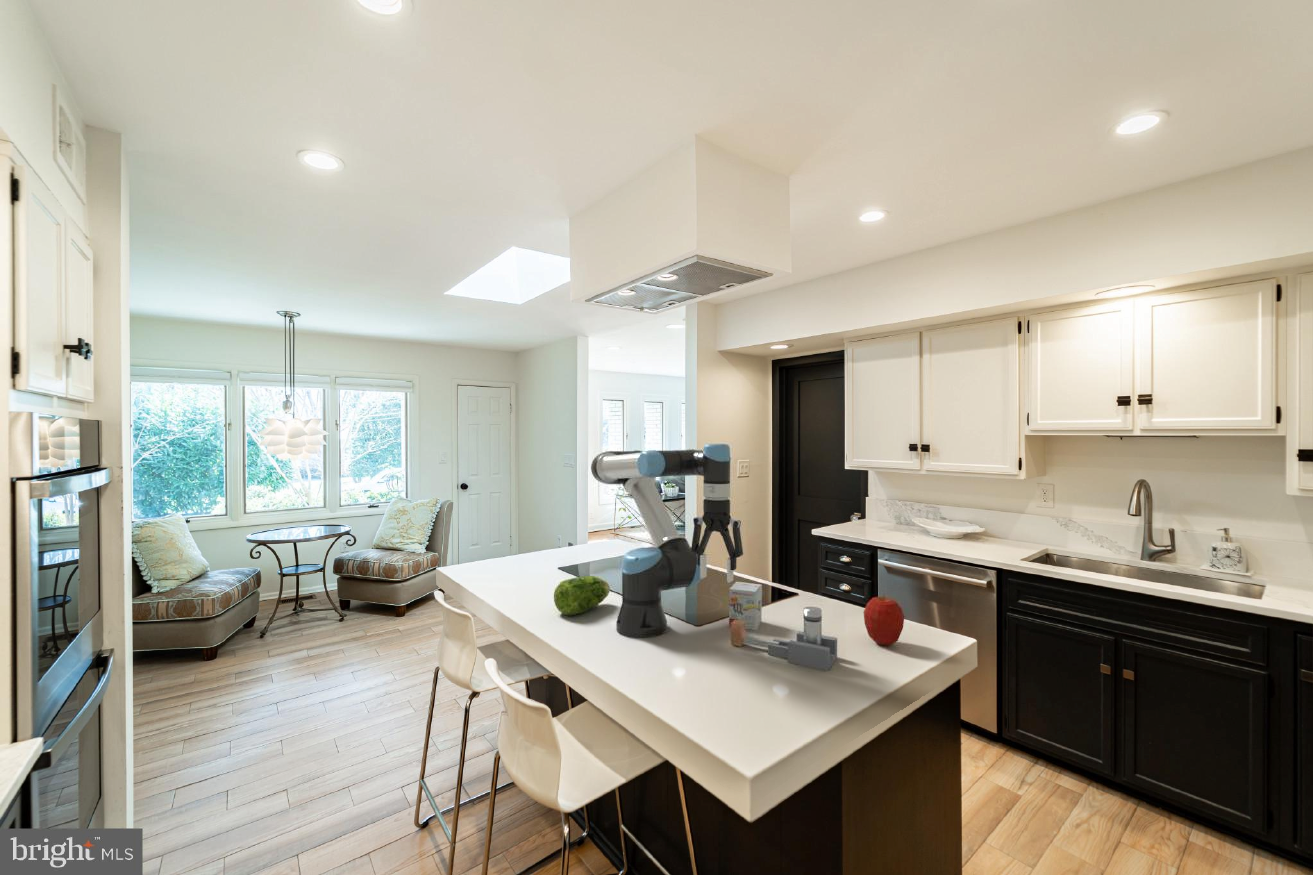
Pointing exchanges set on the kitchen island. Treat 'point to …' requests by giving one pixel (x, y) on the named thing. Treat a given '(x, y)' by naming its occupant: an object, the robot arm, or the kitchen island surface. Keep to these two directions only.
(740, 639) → the pin
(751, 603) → the ink box
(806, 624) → the grey cylinder
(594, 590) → the green rounded piece
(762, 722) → the kitchen island surface
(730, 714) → the kitchen island surface
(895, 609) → the apple
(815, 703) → the kitchen island surface
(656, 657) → the kitchen island surface
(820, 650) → the mount
